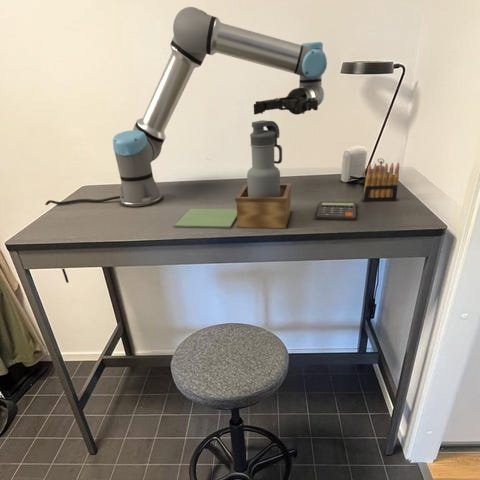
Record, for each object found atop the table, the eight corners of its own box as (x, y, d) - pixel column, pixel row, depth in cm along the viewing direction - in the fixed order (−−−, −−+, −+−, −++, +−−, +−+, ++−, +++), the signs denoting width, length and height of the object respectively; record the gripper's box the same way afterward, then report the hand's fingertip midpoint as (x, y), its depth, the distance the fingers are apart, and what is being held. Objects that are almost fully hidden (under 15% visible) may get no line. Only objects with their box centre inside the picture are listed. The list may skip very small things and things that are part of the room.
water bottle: (264, 211, 131) (262, 117, 115) (287, 218, 125) (288, 119, 109) (242, 220, 125) (237, 123, 110) (265, 227, 119) (263, 125, 104)
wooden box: (237, 227, 120) (235, 198, 115) (246, 211, 133) (244, 183, 128) (286, 228, 117) (286, 198, 112) (291, 211, 130) (291, 183, 125)
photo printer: (357, 176, 160) (360, 143, 153) (365, 178, 157) (369, 144, 150) (339, 181, 156) (341, 147, 149) (347, 183, 153) (350, 149, 146)
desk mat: (174, 227, 124) (174, 225, 124) (190, 210, 137) (189, 208, 137) (230, 228, 120) (230, 226, 120) (240, 210, 133) (240, 208, 133)
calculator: (316, 215, 122) (320, 200, 134) (316, 218, 122) (319, 203, 134) (355, 216, 119) (355, 201, 131) (355, 219, 120) (355, 204, 132)
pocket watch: (391, 182, 150) (395, 154, 145) (393, 188, 144) (397, 159, 138) (368, 182, 152) (372, 154, 147) (369, 188, 146) (373, 159, 140)
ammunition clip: (363, 201, 134) (367, 164, 127) (362, 199, 135) (366, 163, 129) (396, 200, 133) (402, 163, 126) (394, 198, 134) (400, 161, 127)
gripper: (337, 112, 128) (316, 123, 112) (266, 113, 138) (238, 123, 123) (338, 85, 124) (318, 93, 108) (265, 88, 134) (237, 95, 118)
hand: (275, 109), depth 115 cm, fingers open, 13 cm apart
